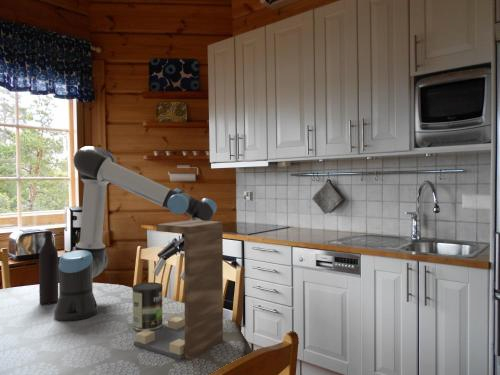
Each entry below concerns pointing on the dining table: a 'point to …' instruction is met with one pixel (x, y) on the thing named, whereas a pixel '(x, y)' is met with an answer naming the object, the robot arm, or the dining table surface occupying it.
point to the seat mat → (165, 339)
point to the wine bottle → (48, 271)
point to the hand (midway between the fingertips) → (168, 276)
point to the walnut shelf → (201, 282)
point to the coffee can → (147, 306)
